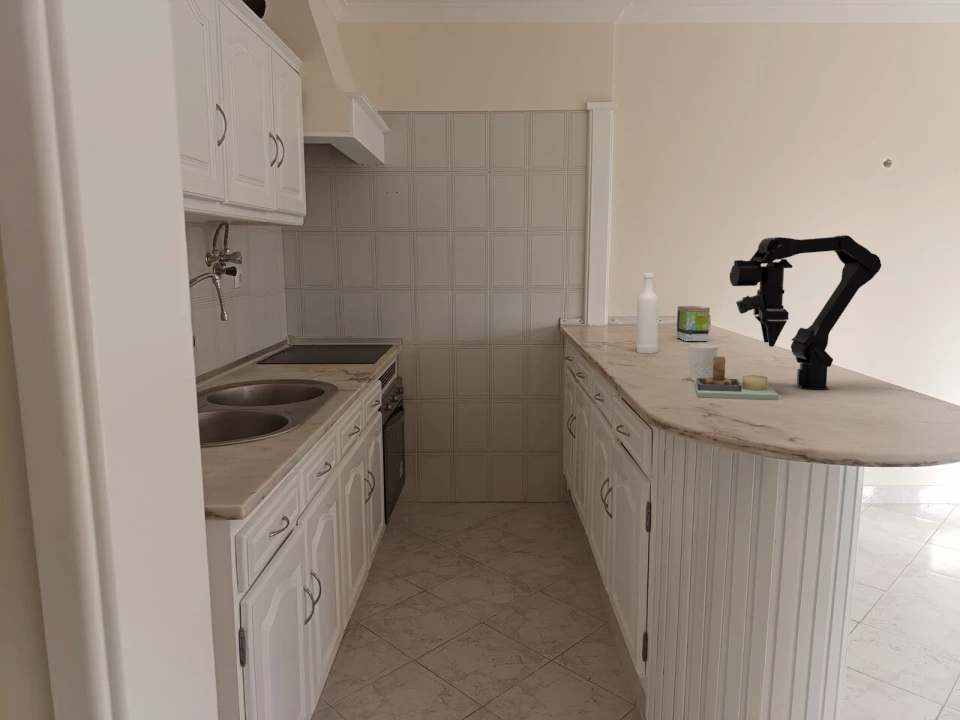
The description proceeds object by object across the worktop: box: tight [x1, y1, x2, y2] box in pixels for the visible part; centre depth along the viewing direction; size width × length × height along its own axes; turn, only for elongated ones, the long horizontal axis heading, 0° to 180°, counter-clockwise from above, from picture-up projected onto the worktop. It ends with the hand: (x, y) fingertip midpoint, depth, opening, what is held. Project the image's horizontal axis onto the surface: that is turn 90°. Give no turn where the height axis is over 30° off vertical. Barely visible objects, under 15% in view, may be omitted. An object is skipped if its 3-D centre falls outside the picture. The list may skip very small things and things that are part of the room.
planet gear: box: [702, 356, 735, 385], centre depth 181 cm, size 8×7×8 cm
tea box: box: [676, 305, 710, 342], centre depth 297 cm, size 15×10×15 cm
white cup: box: [688, 344, 719, 382], centre depth 199 cm, size 8×8×10 cm
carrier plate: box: [694, 374, 779, 401], centre depth 180 cm, size 19×17×4 cm
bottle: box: [636, 272, 660, 354], centre depth 259 cm, size 8×8×30 cm
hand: (768, 344), depth 183 cm, fingers open, 9 cm apart
